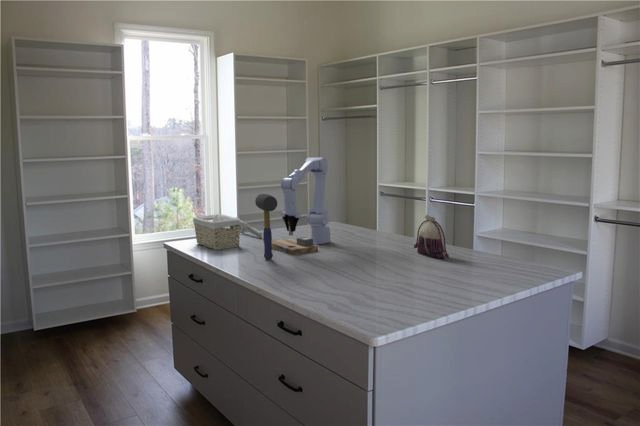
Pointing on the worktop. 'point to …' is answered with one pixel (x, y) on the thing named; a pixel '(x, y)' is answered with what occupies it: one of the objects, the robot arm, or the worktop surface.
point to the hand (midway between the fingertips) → (291, 231)
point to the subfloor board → (292, 247)
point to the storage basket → (217, 231)
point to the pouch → (431, 239)
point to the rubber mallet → (267, 221)
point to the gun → (249, 229)
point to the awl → (289, 229)
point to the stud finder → (304, 241)
